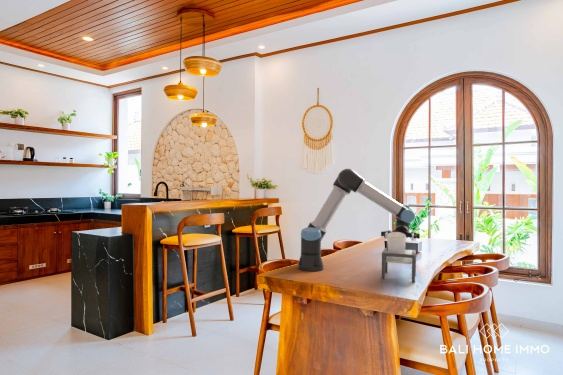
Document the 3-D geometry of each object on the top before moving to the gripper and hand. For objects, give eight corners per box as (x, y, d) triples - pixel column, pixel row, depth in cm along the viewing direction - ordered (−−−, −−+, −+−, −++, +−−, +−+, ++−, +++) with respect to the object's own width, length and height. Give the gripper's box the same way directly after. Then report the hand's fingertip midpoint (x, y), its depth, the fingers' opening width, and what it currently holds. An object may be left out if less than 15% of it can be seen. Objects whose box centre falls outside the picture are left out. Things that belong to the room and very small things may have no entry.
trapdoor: (385, 262, 205) (385, 260, 205) (388, 250, 217) (388, 248, 217) (411, 264, 200) (411, 262, 200) (412, 251, 213) (412, 250, 212)
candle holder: (405, 261, 202) (405, 240, 198) (386, 259, 206) (385, 238, 202) (406, 252, 211) (406, 232, 207) (388, 251, 214) (387, 231, 211)
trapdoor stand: (381, 279, 203) (381, 252, 203) (384, 272, 219) (385, 247, 219) (414, 282, 197) (415, 255, 197) (415, 275, 214) (416, 249, 214)
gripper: (424, 240, 219) (424, 245, 199) (379, 237, 228) (374, 242, 208) (424, 226, 219) (424, 231, 199) (379, 224, 228) (375, 228, 208)
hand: (399, 236), depth 204 cm, fingers open, 13 cm apart
